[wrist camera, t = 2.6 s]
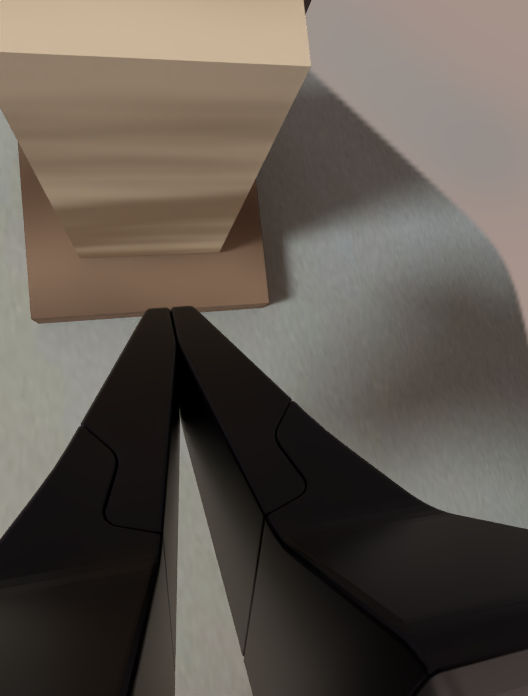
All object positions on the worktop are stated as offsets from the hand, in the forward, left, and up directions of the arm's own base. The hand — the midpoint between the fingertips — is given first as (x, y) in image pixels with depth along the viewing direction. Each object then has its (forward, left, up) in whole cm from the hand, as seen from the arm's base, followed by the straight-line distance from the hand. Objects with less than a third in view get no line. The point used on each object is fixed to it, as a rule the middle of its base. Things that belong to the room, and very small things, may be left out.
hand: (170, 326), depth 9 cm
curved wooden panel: (+6, 0, -9) cm, 10 cm away
